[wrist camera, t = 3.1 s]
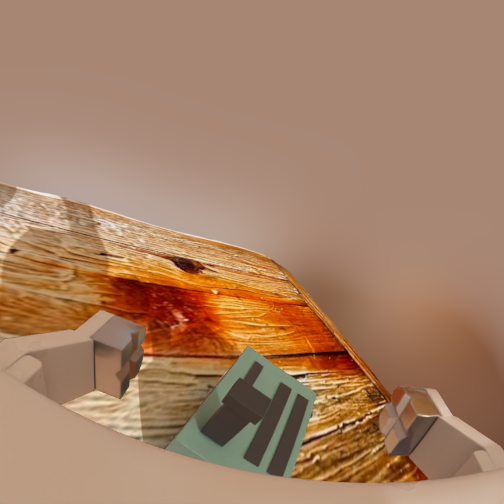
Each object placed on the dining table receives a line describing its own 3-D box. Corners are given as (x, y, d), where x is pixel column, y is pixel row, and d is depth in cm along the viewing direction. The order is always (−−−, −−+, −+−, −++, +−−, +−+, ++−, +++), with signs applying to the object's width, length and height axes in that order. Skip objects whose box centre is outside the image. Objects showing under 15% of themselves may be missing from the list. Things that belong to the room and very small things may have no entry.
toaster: (146, 469, 25) (175, 437, 22) (216, 385, 42) (248, 344, 39) (232, 524, 23) (282, 503, 20) (278, 427, 40) (317, 392, 37)
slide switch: (194, 430, 23) (228, 393, 21) (206, 414, 26) (239, 377, 23) (225, 451, 23) (263, 418, 21) (235, 434, 25) (272, 399, 23)
